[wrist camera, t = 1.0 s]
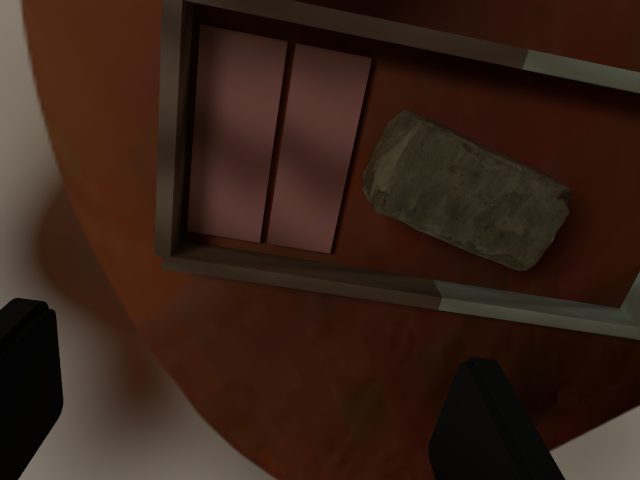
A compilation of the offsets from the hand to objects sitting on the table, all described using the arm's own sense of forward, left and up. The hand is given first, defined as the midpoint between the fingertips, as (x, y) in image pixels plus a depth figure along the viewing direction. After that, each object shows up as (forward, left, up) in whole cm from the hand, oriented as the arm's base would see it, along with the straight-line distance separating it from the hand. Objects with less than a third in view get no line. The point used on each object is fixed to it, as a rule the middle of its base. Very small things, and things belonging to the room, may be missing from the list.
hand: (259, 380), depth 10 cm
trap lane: (0, +10, -20) cm, 23 cm away
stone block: (0, +11, -21) cm, 23 cm away
